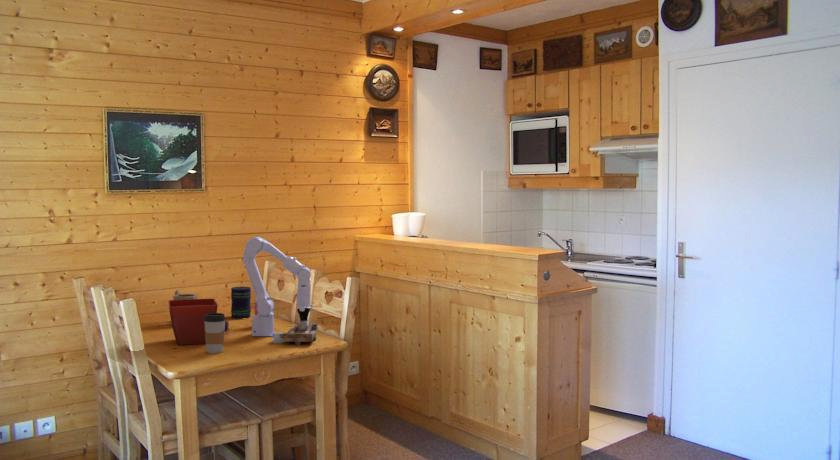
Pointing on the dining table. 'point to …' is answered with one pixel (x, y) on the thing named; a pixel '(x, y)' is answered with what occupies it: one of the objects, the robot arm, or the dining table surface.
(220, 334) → the coffee cup
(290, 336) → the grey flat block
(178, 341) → the plant pot
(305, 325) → the rider
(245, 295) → the storage jar
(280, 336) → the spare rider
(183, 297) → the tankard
